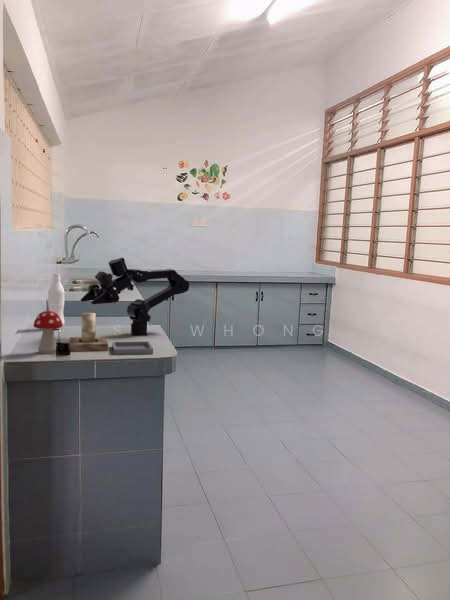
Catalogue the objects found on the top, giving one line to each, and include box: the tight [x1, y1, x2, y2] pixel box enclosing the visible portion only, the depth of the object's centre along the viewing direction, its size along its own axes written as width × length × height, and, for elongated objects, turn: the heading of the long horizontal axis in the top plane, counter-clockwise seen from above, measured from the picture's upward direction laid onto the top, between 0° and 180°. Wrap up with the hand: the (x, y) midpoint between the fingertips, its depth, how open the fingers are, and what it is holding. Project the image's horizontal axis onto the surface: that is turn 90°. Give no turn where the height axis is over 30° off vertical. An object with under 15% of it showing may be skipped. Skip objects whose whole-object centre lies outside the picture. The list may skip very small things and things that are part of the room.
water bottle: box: [47, 273, 66, 330], centre depth 225 cm, size 7×7×25 cm
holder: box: [68, 336, 109, 352], centre depth 191 cm, size 14×14×2 cm
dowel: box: [81, 312, 97, 342], centre depth 190 cm, size 5×5×13 cm
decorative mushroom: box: [33, 310, 63, 355], centre depth 179 cm, size 10×9×15 cm
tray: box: [111, 341, 154, 356], centre depth 189 cm, size 14×14×2 cm
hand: (86, 301), depth 203 cm, fingers open, 9 cm apart
